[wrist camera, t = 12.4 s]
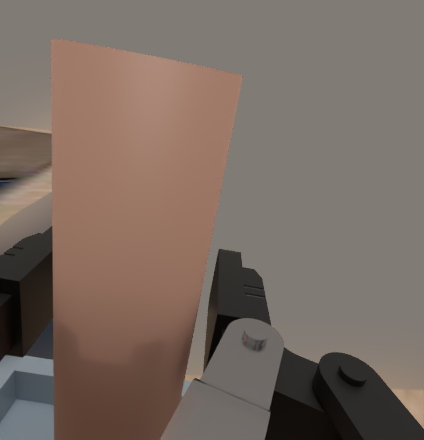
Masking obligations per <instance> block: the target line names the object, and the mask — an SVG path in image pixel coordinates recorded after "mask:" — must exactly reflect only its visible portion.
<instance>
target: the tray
mask: <svg viewBox="0 0 424 440" xmlns="http://www.w3.org/2000/svg"><path fill="white" fill-rule="evenodd" d="M190 383H191V382H189V381H184V385H183V390H182V395H181V400H182V398H183V396H184V394H185V392H186V390H187V389H188V387H189V385H190ZM181 400H180V401H181ZM0 440H54V378H53V360H50V359H43V358H36V357H30V356H24V357H23V358H22V357H16V356H9V355H5V357H4V358H3V359H2V360H1V361H0Z"/></svg>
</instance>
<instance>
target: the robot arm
mask: <svg viewBox="0 0 424 440" xmlns="http://www.w3.org/2000/svg"><path fill="white" fill-rule="evenodd" d="M52 319H53V231H52V227H50V228H49V229H48V230H47V231H45V232H44V233H43V234H41V233H38V234H35V235H32V236H29V237H26V238H24V239H22V240H21V241H19V242H18V243H17V244H15V245H14V246H13V248H10V249H9V250H7V251H6V252H5V253H4V255H1V256H0V361H1V360H2V359H3V358H4V357H5V355H9V356H16V357H22V358H23V357H24V356H25V355H26V353H27V352H28V351H29V349H30V348H31V347H32V345H33V344H34V343H35V341H36V340H37V339H38V337H39V336H40V335H41V333H42V332H43V331H44V329H45V328H46V327H47V325H48V324H49V323H50V321H51V320H52ZM160 440H424V429H423V428H422V426H421V425H420V424H419V423H418V422H417V420H416V419H415V418H414V417H413V416H412V414H411V413H410V412H409V411H408V410H407V409H406V407H405V406H404V405H403V404H402V403H401V401H400V400H399V399H398V398H397V397H396V395H395V394H394V393H393V392H392V391H391V389H390V388H389V387H388V386H387V385H386V383H385V382H384V381H383V380H382V379H381V377H380V376H379V375H378V374H377V373H376V372H375V371H374V370H373V369H372V368H371V367H370V366H369V365H367V364H366V363H365V362H363V361H361V360H359V359H358V358H355V357H353V356H351V355H348V354H344V353H338V352H336V353H334V352H333V353H328V354H326V355H324V356H323V357H322V358H321V359H320V362H319V364H318V363H315V362H313V361H310V360H308V359H305V358H303V357H300V356H298V355H296V354H294V353H292V352H290V351H289V350H287V349H286V348H285V347H284V341H283V339H282V337H281V335H280V334H279V332H278V331H277V330H276V329H275V328H273V327H272V326H271V322H270V317H269V312H268V307H267V302H266V298H265V291H264V286H263V282H262V278H261V277H260V276H259V275H258V273H257V272H256V271H255V270H254V269H249V268H243V267H242V260H241V252H235V251H229V250H223V249H219V251H218V256H217V261H216V266H215V271H214V276H213V282H212V286H211V292H210V298H209V306H208V318H207V330H206V343H205V356H204V369H203V375H202V377H201V379H200V380H199V379H197V378H195V379H193V381H192V382H191V383H190V385H189V387H188V389H187V390H186V392H185V394H184V396H183V398H182V400H181V401H180V403H179V405H178V407H177V409H176V411H175V412H174V414H173V416H172V418H171V420H170V422H169V423H168V425H167V427H166V429H165V431H164V433H163V434H162V436H161V438H160Z"/></svg>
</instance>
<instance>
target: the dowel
mask: <svg viewBox="0 0 424 440" xmlns="http://www.w3.org/2000/svg"><path fill="white" fill-rule="evenodd" d="M51 76H52V77H51V80H52V81H51V84H52V224H53V225H52V231H53V378H54V440H160V438H161V436H162V434H163V433H164V431H165V429H166V427H167V425H168V423H169V422H170V420H171V418H172V416H173V414H174V412H175V411H176V409H177V407H178V405H179V403H180V400H181V395H182V390H183V385H184V379H185V374H186V369H187V364H188V359H189V353H190V348H191V343H192V338H193V333H194V327H195V322H196V317H197V311H198V307H199V302H200V296H201V291H202V286H203V281H204V276H205V270H206V265H207V260H208V255H209V250H210V244H211V239H212V234H213V229H214V223H215V218H216V213H217V207H218V203H219V197H220V192H221V187H222V182H223V176H224V171H225V166H226V161H227V155H228V150H229V146H230V140H231V135H232V130H233V124H234V119H235V114H236V109H237V104H238V98H239V93H240V88H241V83H242V78H243V76H241V75H237V74H233V73H230V72H226V71H221V70H217V69H212V68H208V67H203V66H199V65H194V64H189V63H184V62H179V61H174V60H170V59H165V58H159V57H154V56H149V55H144V54H139V53H134V52H129V51H124V50H118V49H113V48H107V47H102V46H96V45H90V44H84V43H79V42H72V41H66V40H60V39H51Z"/></svg>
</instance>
